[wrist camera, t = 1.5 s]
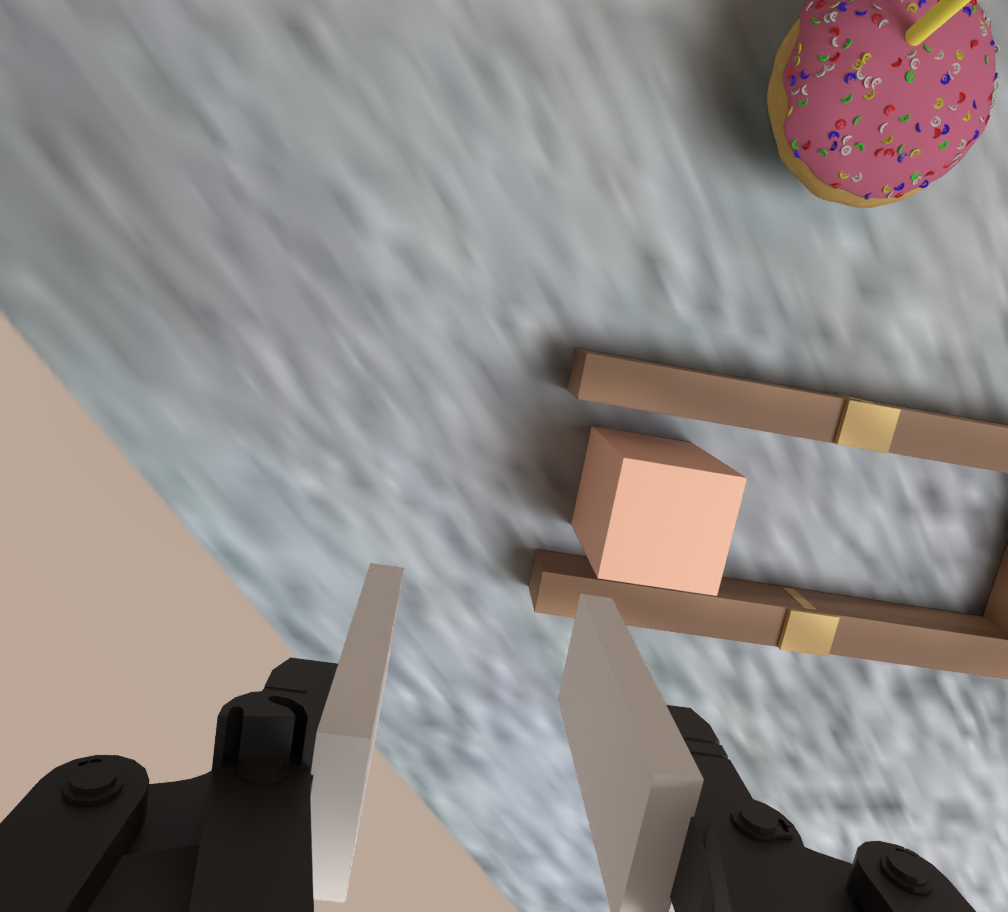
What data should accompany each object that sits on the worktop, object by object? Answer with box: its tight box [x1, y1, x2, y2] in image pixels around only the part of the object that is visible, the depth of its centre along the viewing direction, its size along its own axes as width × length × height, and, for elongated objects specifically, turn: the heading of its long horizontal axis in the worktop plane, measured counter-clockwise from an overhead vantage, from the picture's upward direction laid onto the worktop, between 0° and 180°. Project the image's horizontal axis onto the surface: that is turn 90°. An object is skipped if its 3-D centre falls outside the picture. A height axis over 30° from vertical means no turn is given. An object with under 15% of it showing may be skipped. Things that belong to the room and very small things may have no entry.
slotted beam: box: [529, 348, 1008, 679], centre depth 35 cm, size 12×26×3 cm, turn 80°
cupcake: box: [767, 0, 1000, 208], centre depth 27 cm, size 9×8×12 cm
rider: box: [571, 426, 747, 596], centre depth 33 cm, size 5×5×7 cm
